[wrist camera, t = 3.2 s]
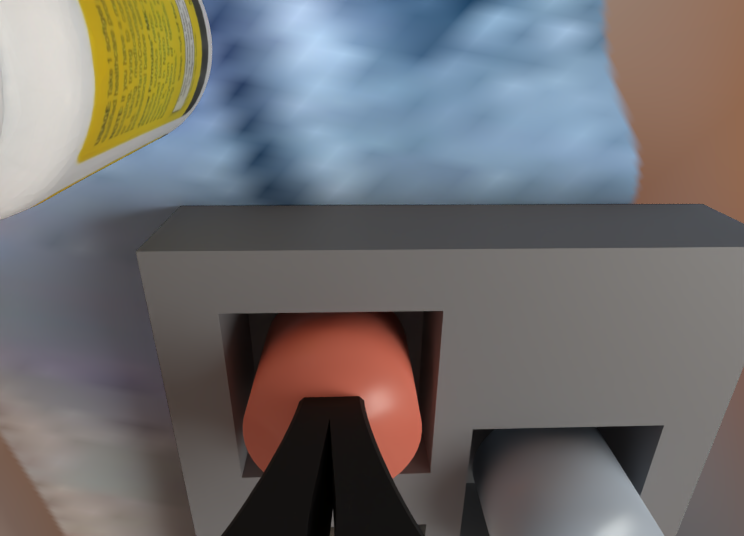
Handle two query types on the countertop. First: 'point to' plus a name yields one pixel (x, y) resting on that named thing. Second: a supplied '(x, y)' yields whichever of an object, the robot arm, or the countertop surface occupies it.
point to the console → (462, 333)
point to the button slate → (556, 485)
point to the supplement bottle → (91, 86)
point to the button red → (335, 379)
